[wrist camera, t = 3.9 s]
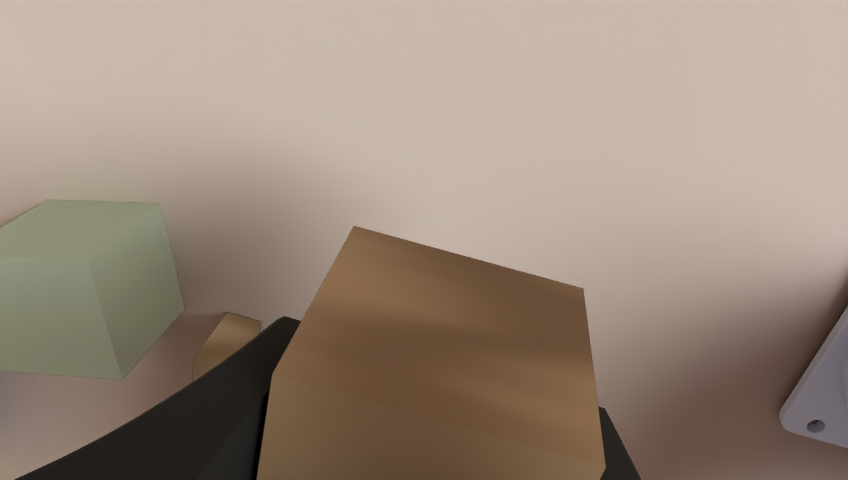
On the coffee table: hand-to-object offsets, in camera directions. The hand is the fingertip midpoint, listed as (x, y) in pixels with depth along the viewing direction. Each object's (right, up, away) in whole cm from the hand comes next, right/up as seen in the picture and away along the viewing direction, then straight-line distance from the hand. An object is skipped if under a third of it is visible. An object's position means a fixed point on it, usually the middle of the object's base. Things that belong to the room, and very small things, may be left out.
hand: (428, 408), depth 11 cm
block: (-10, +2, +12) cm, 16 cm away
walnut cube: (0, +1, +1) cm, 2 cm away
